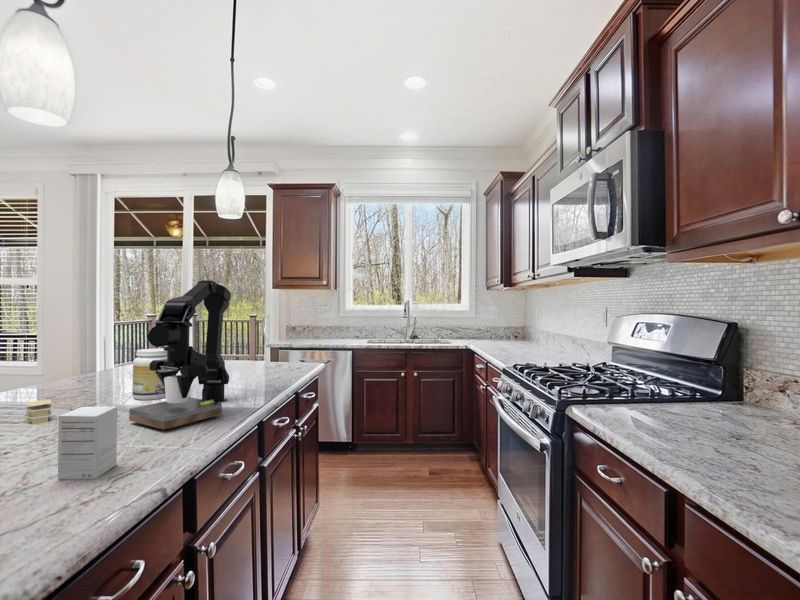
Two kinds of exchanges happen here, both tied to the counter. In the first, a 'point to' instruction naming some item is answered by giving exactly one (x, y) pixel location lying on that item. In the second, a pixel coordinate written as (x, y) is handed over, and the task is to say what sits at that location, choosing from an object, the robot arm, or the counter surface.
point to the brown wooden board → (176, 422)
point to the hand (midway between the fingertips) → (177, 396)
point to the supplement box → (87, 442)
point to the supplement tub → (147, 375)
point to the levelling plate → (175, 409)
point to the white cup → (173, 390)
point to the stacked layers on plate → (38, 411)
